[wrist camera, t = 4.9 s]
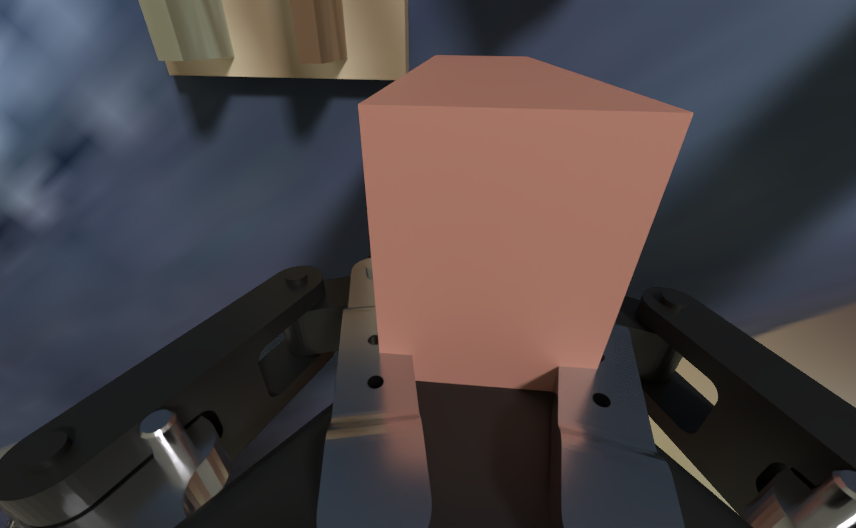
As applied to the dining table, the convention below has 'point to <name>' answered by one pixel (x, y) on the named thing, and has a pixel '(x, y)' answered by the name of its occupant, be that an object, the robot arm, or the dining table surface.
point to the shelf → (281, 38)
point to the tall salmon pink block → (508, 214)
